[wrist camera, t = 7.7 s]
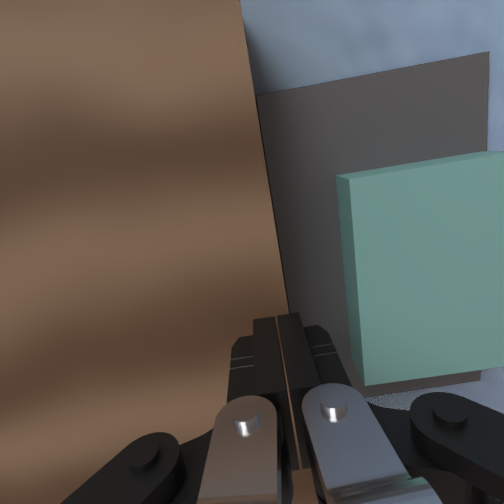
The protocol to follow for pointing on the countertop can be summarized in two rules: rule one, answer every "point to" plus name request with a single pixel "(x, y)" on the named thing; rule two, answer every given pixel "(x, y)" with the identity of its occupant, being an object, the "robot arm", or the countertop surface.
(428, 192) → the teal rectangular block
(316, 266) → the mat
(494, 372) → the countertop surface
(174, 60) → the brown flat block
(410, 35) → the countertop surface
